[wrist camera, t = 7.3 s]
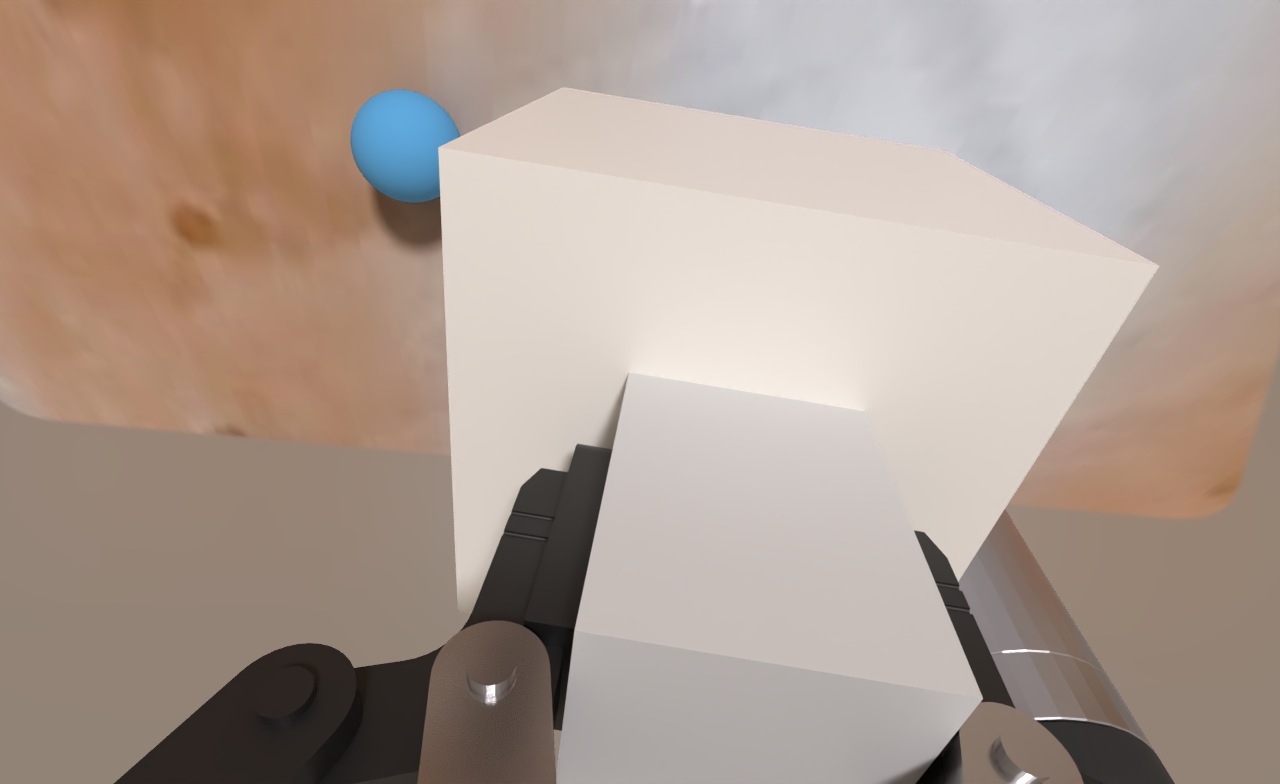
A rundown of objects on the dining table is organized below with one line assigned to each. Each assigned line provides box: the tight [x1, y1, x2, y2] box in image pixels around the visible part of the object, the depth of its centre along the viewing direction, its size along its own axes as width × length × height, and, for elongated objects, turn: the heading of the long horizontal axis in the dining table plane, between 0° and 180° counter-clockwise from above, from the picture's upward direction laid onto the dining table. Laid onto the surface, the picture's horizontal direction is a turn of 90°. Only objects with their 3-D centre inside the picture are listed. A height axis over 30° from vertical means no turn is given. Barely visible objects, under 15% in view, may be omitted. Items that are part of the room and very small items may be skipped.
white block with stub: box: [438, 87, 1159, 784], centre depth 13 cm, size 10×10×14 cm
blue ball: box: [351, 90, 460, 203], centre depth 29 cm, size 5×5×5 cm
